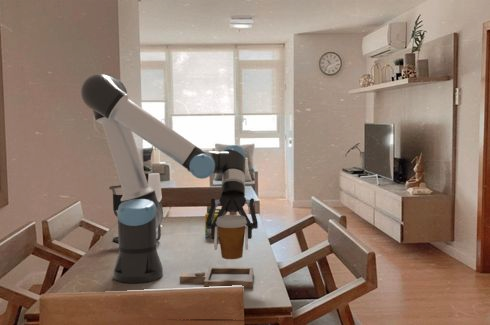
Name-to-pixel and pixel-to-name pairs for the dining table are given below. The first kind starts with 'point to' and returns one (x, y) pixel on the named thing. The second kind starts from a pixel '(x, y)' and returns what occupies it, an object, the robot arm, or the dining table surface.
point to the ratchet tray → (221, 277)
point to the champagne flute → (155, 185)
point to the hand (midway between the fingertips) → (231, 247)
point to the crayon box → (208, 231)
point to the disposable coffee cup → (231, 235)
